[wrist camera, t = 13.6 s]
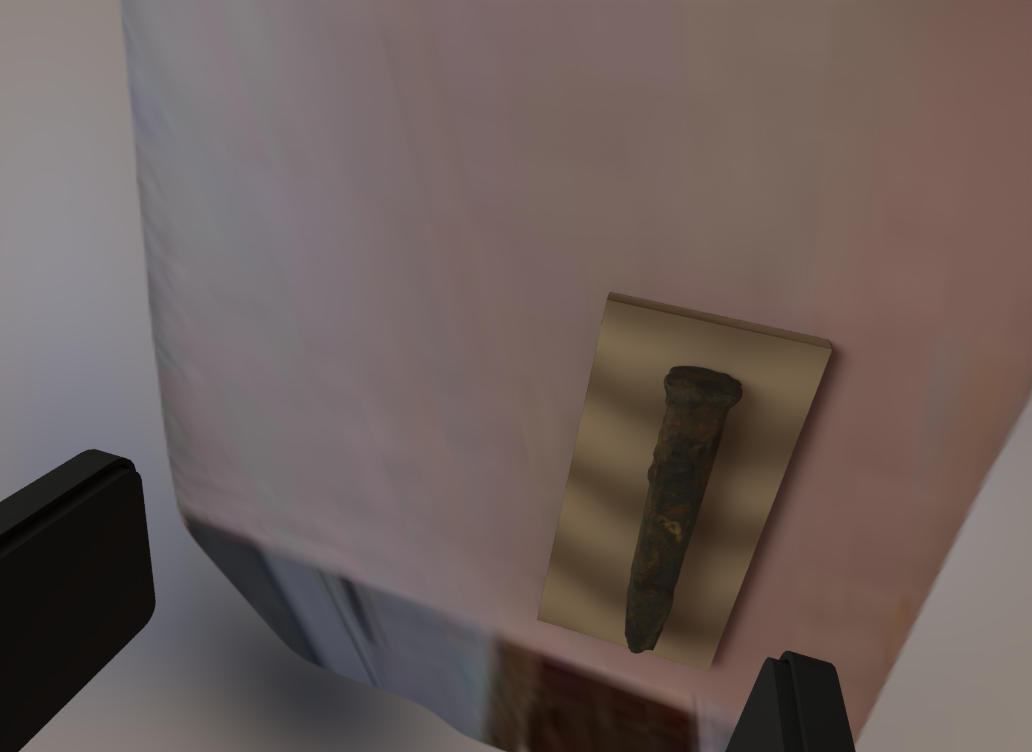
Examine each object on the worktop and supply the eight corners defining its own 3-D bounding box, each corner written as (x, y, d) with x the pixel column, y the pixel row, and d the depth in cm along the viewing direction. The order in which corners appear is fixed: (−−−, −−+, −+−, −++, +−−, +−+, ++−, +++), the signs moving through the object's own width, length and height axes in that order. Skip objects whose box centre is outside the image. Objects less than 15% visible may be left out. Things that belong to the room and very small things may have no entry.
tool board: (609, 292, 38) (606, 299, 37) (827, 339, 36) (832, 349, 35) (541, 604, 49) (537, 619, 47) (708, 654, 47) (708, 671, 46)
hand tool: (669, 352, 37) (665, 387, 33) (742, 370, 37) (747, 407, 33) (598, 604, 46) (587, 656, 42) (656, 622, 45) (651, 677, 41)
